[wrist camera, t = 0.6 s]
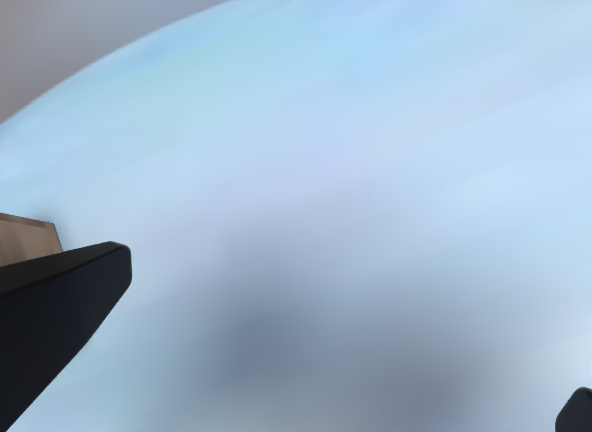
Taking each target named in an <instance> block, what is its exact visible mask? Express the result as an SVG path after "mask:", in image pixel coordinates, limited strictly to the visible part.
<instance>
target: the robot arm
mask: <svg viewBox="0 0 592 432" xmlns="http://www.w3.org/2000/svg"><path fill="white" fill-rule="evenodd" d="M131 280H132V264H131V251H130V249H129V247H128V246H126V245H123V244H120V243H117V242H113V241H109V242H104V243H100V244H95V245H91V246H87V247H82V248H78V249H73V250H69V251H65V252H60V253H56V254H52V255H47V256H43V257H38V258H34V259H30V260H25V261H21V262H17V263H12V264H8V265H4V266H0V432H6V431H7V430H8V429H9V428H10V427H11V426H12V425H13V423H14V422H15V421H16V420H17V419H18V418H19V417H20V416H21V415H22V414H23V412H24V411H25V410H26V409H27V408H28V407H29V406H30V405H31V404H32V403H33V402H34V400H35V399H36V398H37V397H38V396H39V395H40V394H41V393H42V392H43V391H44V390H45V388H46V387H47V386H48V385H49V384H50V383H51V382H52V381H53V380H54V379H55V377H56V376H57V375H58V374H59V373H60V372H61V371H62V370H63V369H64V368H65V367H66V365H67V364H68V363H69V362H70V361H71V360H72V359H73V358H74V357H75V356H76V354H77V353H78V352H79V351H80V350H81V349H82V348H83V346H84V345H85V344H86V343H87V342H88V340H89V339H90V338H91V337H92V335H93V334H94V333H95V332H96V330H97V329H98V328H99V326H100V325H101V324H102V322H103V321H104V320H105V318H106V317H107V316H108V314H109V313H110V312H111V310H112V309H113V308H114V306H115V305H116V304H117V302H118V301H119V300H120V298H121V297H122V296H123V294H124V293H125V292H126V290H127V289H128V287H129V286H130V284H131ZM555 432H592V389H590V388H586V387H580V388H578V389H577V390H576V391H575V392H574V393H573V395H572V396H571V397H570V399H569V400H568V402H567V403H566V404H565V406H564V407H563V409H562V410H561V411H560V413H559V414H558V416H557V419H556V423H555Z"/></svg>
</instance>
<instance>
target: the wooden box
mask: <svg viewBox="0 0 592 432" xmlns="http://www.w3.org/2000/svg"><path fill="white" fill-rule="evenodd" d="M60 252H63V251H62V248H61V245H60V242H59V239H58V236H57V233H56V230H55V227H54V224H53V223H48V222H43V221H38V220H33V219H28V218H24V217H19V216H14V215H9V214H4V213H0V266H4V265H8V264H12V263H17V262H21V261H25V260H30V259H34V258H38V257H43V256H47V255H52V254H56V253H60Z"/></svg>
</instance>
